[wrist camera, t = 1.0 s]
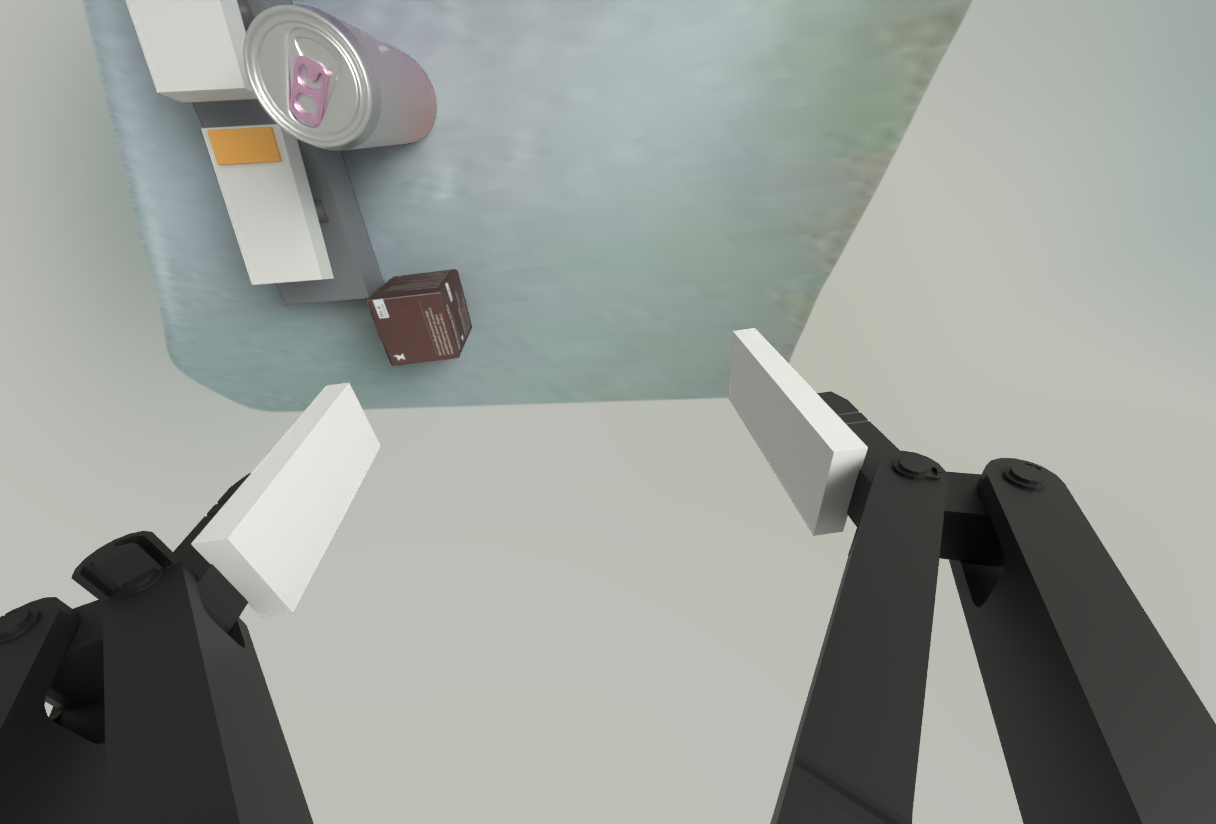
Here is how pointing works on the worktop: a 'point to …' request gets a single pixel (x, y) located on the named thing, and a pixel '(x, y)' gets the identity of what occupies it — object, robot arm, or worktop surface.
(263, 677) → the robot arm
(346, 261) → the switch panel
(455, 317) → the box
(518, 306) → the worktop surface
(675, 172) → the worktop surface
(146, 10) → the block
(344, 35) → the beverage can
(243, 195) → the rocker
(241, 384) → the worktop surface
